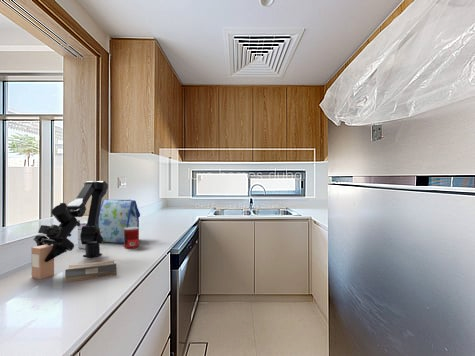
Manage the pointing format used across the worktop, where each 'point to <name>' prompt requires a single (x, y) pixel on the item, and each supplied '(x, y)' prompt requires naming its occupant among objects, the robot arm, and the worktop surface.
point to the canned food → (131, 237)
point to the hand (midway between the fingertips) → (39, 260)
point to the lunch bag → (117, 219)
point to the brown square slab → (90, 271)
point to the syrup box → (80, 234)
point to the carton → (42, 262)
